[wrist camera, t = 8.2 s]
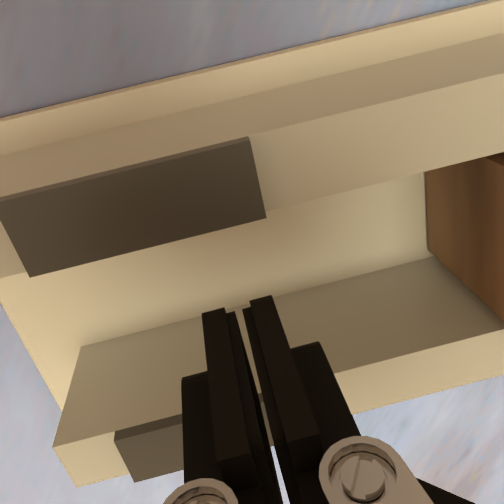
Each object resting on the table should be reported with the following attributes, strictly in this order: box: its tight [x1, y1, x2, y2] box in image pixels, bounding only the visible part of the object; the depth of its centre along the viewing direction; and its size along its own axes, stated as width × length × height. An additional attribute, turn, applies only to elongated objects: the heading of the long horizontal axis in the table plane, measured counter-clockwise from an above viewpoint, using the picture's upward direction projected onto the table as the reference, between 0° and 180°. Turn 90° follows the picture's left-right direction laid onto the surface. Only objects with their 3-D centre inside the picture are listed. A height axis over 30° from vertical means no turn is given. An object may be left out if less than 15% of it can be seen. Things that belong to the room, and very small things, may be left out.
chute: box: [0, 0, 504, 487], centre depth 16 cm, size 26×12×6 cm, turn 102°
